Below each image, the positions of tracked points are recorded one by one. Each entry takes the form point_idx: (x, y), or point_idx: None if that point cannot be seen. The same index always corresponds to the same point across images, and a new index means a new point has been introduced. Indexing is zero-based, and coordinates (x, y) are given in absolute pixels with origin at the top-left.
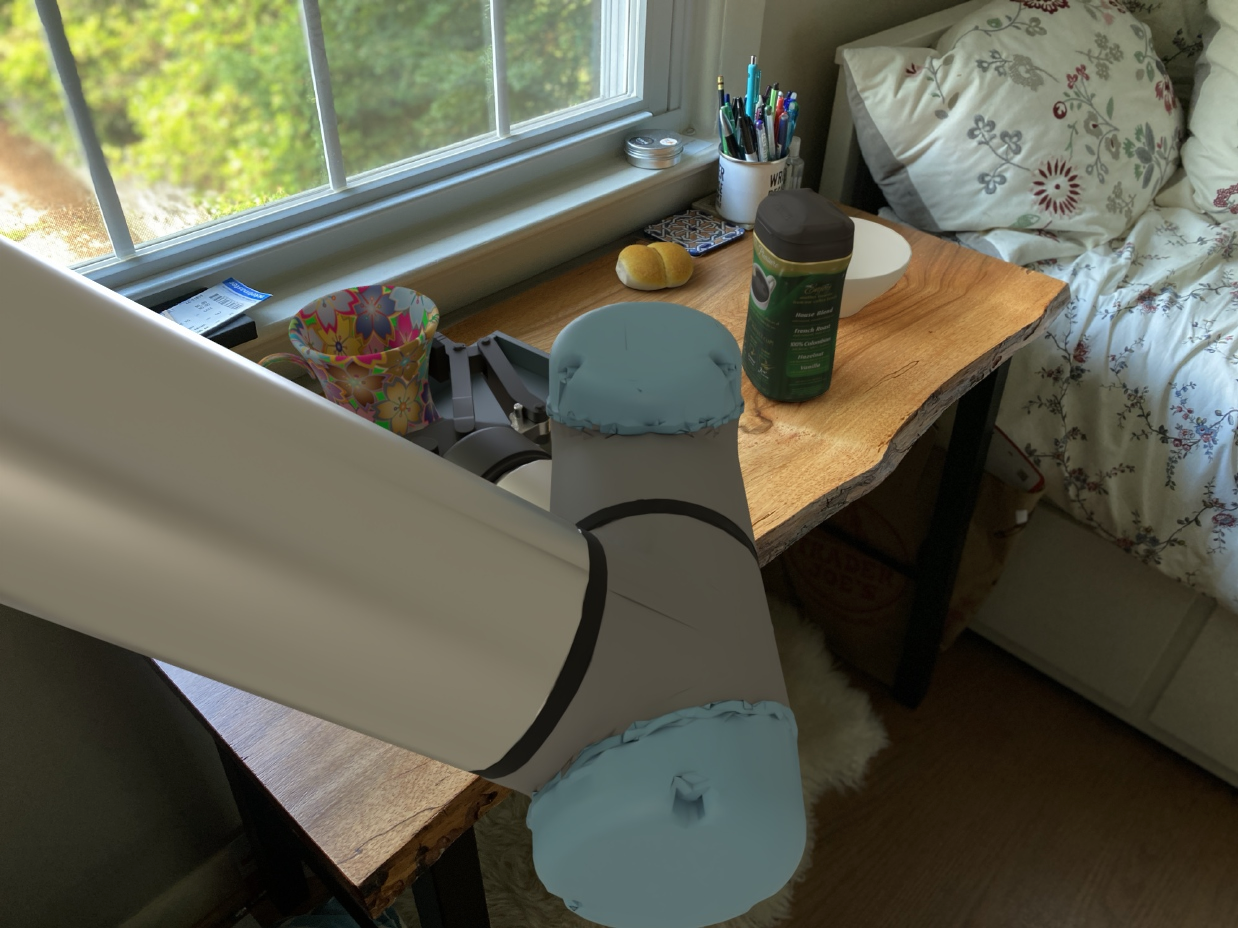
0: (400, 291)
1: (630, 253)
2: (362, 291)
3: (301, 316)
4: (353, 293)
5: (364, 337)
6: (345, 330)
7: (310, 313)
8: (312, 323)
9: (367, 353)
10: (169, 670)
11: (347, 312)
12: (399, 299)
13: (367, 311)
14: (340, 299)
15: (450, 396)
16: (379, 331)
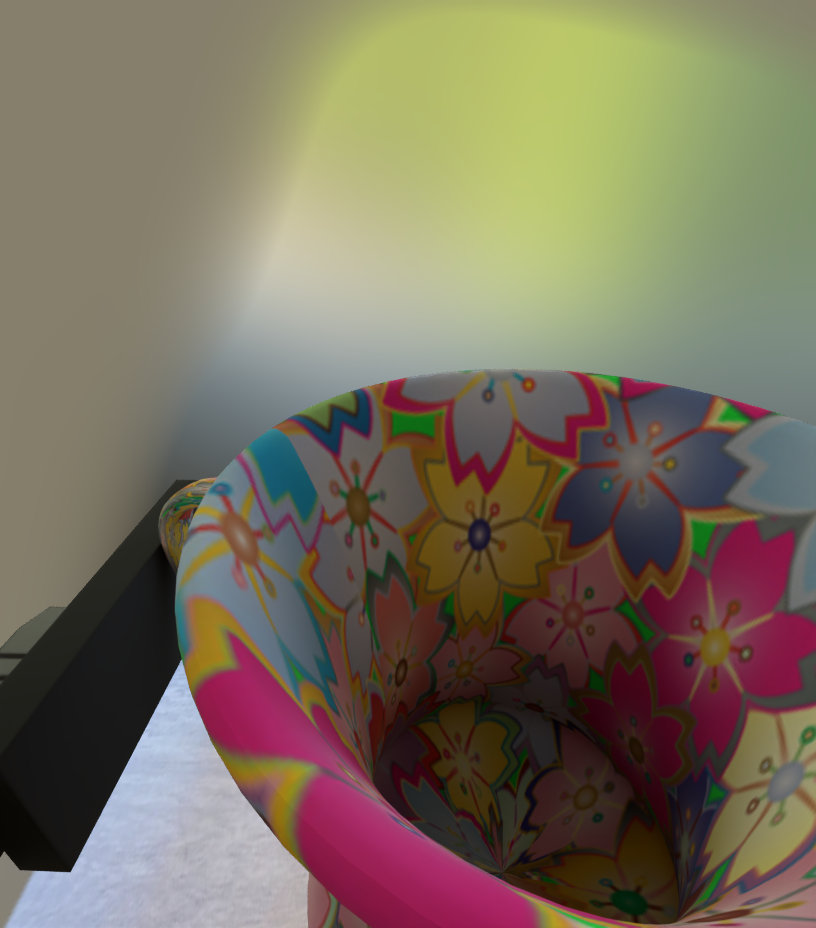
0: (795, 436)
1: None
2: (632, 395)
3: (387, 397)
4: (598, 392)
5: (572, 539)
6: (522, 495)
7: (427, 401)
8: (417, 433)
9: (560, 587)
10: (20, 900)
11: (552, 444)
12: (772, 466)
13: (619, 465)
14: (548, 396)
15: None
16: (629, 543)
